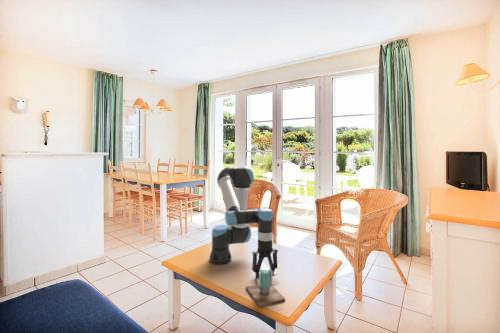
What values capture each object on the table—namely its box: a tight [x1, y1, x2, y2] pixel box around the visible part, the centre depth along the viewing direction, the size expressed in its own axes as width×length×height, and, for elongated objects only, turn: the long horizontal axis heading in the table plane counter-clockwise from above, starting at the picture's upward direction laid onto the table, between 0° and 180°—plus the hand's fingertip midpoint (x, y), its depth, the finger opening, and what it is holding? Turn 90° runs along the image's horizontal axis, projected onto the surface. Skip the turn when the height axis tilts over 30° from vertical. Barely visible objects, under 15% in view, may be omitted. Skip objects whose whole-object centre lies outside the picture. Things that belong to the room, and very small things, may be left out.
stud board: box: [245, 282, 286, 308], centre depth 131 cm, size 18×14×10 cm
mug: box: [254, 262, 278, 280], centre depth 147 cm, size 12×10×8 cm
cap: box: [260, 270, 271, 288], centre depth 131 cm, size 5×5×7 cm
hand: (264, 282), depth 131 cm, fingers open, 6 cm apart
